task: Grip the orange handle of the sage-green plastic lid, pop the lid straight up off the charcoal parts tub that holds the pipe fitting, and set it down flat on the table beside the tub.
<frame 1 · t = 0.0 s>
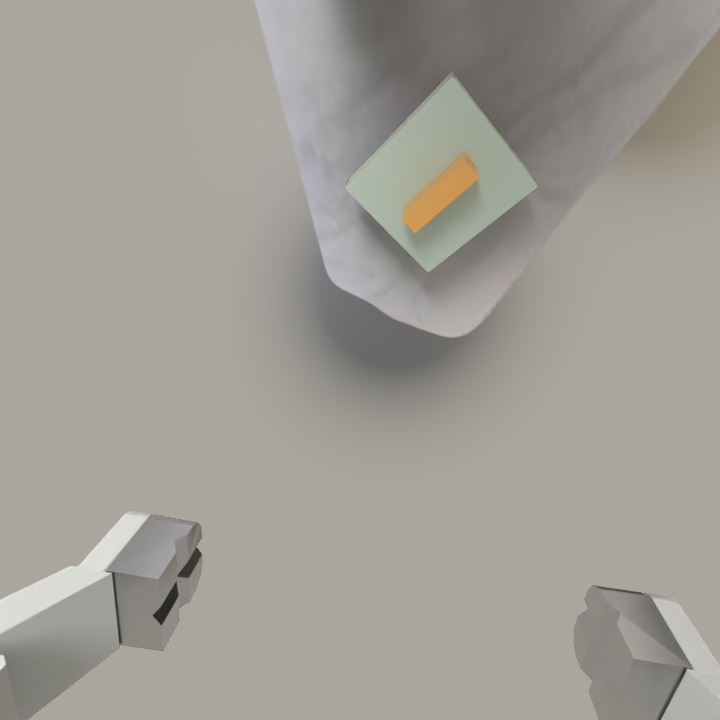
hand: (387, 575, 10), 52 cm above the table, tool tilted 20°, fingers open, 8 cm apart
lid: (438, 178, 50), point 5 cm above the table, touching parts tub
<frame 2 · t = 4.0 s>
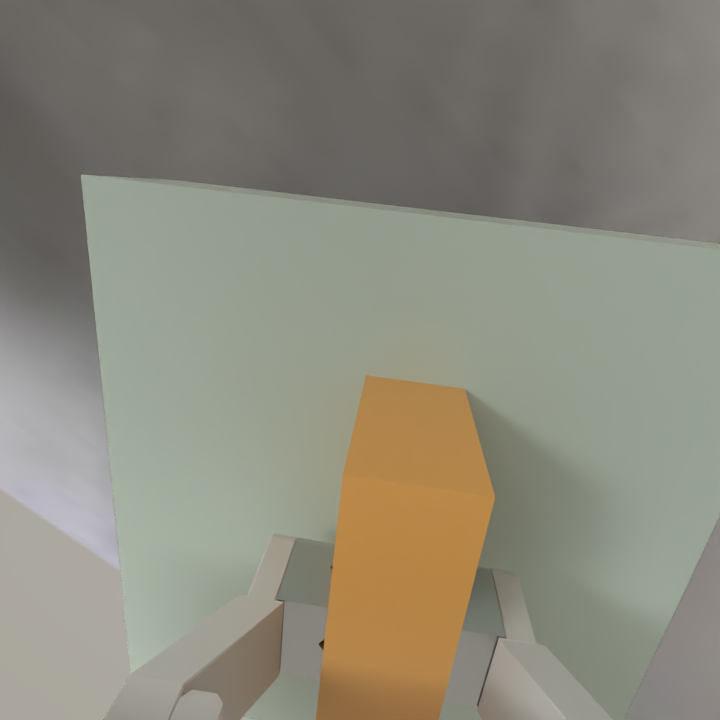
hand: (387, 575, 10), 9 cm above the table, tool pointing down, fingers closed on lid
lid: (393, 466, 14), point 5 cm above the table, touching gripper, parts tub
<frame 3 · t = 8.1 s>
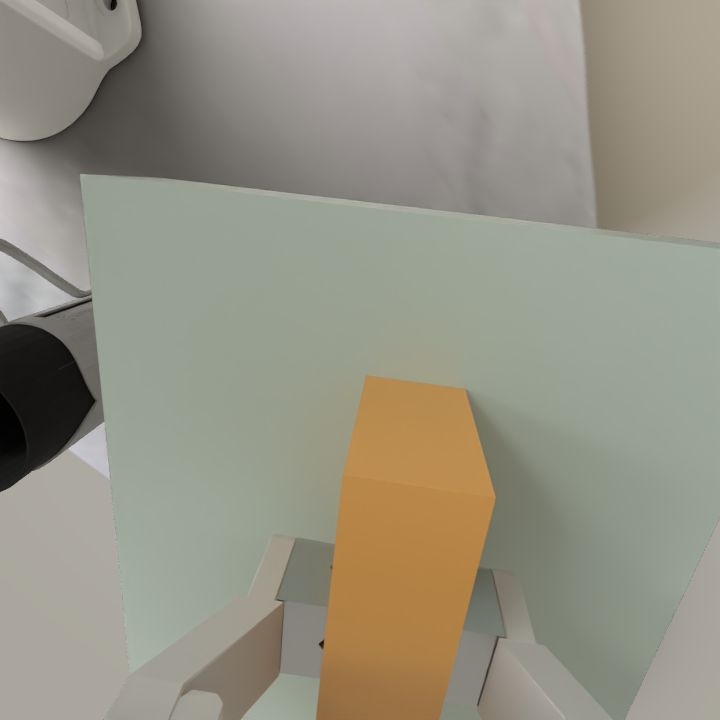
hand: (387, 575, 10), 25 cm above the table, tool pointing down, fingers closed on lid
lid: (393, 466, 13), point 21 cm above the table, touching gripper
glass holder: (115, 304, 36), on the table
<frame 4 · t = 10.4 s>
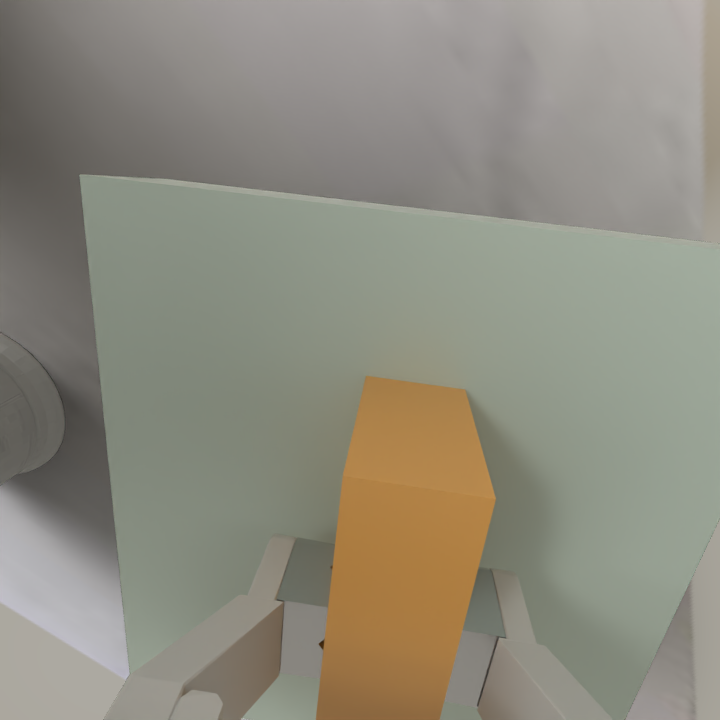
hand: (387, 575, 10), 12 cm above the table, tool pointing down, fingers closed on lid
lid: (393, 467, 13), point 8 cm above the table, touching gripper
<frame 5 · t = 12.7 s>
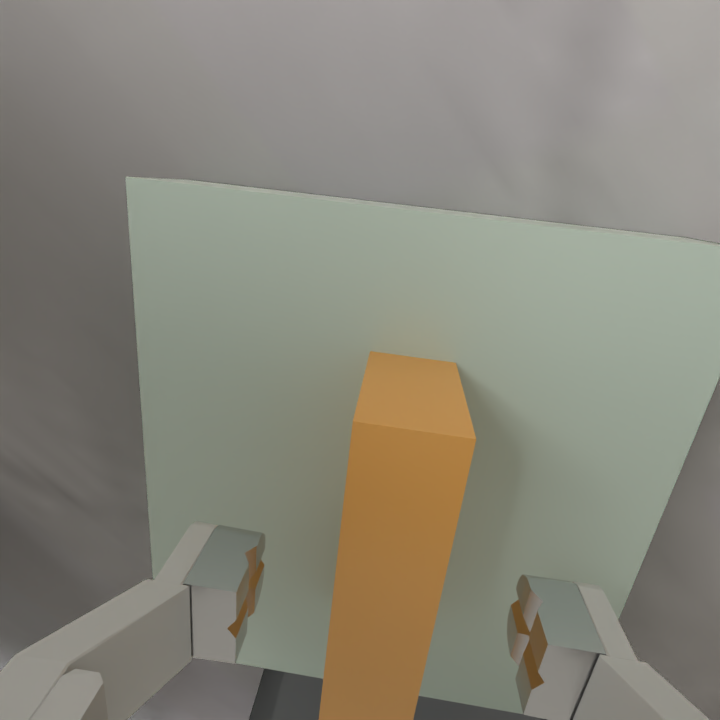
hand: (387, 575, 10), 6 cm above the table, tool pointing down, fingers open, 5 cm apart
lid: (394, 440, 15), on the table
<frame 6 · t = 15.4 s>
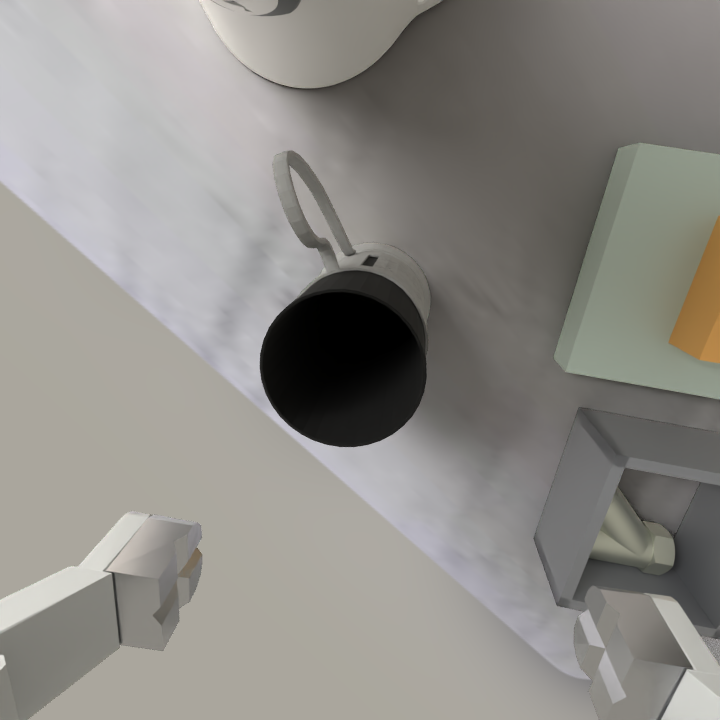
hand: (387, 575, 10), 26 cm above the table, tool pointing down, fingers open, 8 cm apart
pipe fitting: (606, 506, 38), resting in parts tub
lid: (682, 277, 32), on the table
parts tub: (627, 490, 37), on the table
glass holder: (360, 267, 34), on the table
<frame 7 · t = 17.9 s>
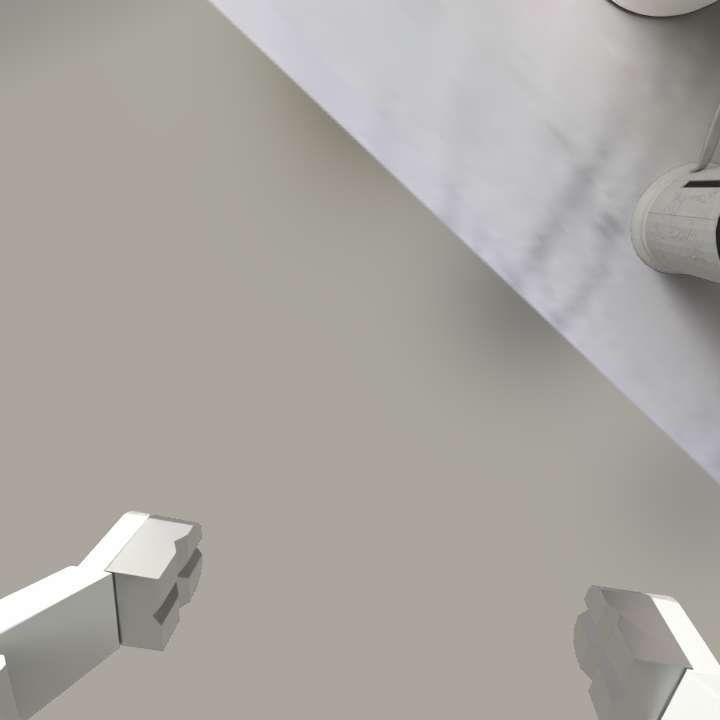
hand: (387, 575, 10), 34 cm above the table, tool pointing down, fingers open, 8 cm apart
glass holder: (681, 186, 37), on the table
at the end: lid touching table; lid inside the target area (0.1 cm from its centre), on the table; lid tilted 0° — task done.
